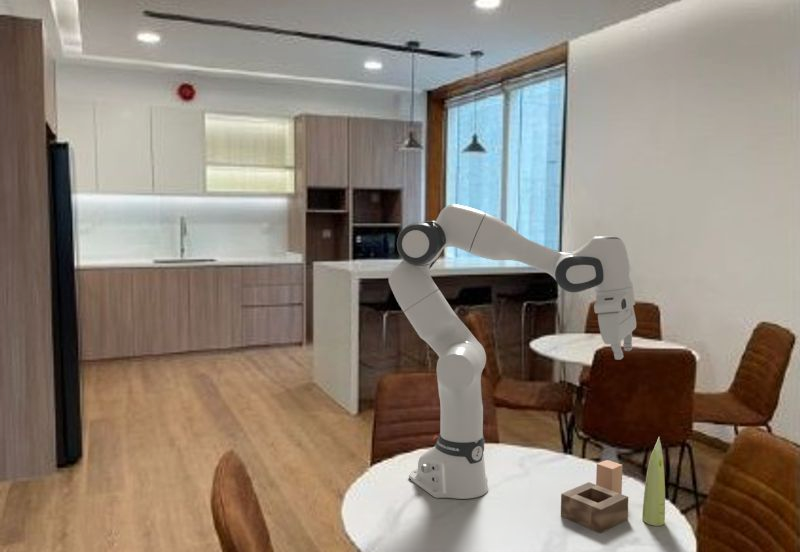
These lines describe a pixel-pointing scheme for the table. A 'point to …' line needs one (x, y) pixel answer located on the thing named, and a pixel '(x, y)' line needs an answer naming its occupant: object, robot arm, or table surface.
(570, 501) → the socket block
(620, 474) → the peg
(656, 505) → the tube
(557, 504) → the table surface
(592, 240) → the robot arm
